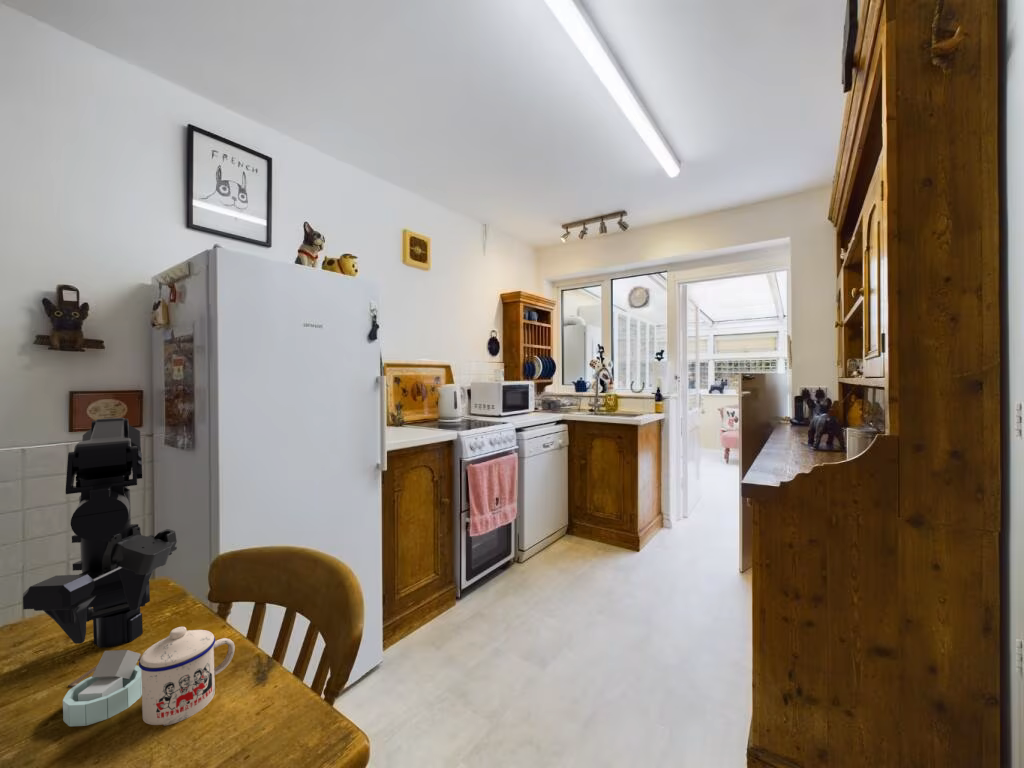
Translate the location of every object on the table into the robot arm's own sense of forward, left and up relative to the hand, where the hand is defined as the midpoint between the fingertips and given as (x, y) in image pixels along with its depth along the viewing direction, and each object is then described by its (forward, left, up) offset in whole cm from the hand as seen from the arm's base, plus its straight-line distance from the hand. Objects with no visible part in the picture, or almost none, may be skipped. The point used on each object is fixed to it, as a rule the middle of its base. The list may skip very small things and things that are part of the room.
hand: (109, 625), depth 66 cm
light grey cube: (0, -2, -11) cm, 12 cm away
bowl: (0, -1, -12) cm, 12 cm away
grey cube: (0, 0, -8) cm, 8 cm away
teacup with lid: (+12, 0, -12) cm, 17 cm away
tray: (-6, +7, -12) cm, 15 cm away
